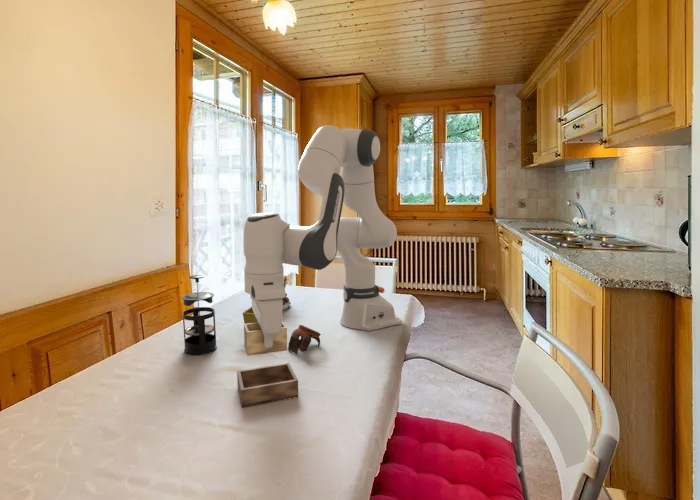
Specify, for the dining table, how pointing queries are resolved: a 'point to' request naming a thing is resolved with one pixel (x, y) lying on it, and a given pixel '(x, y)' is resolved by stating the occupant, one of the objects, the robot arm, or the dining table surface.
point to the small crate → (256, 340)
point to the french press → (199, 323)
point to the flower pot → (249, 316)
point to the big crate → (266, 384)
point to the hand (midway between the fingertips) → (265, 340)
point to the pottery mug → (302, 339)
